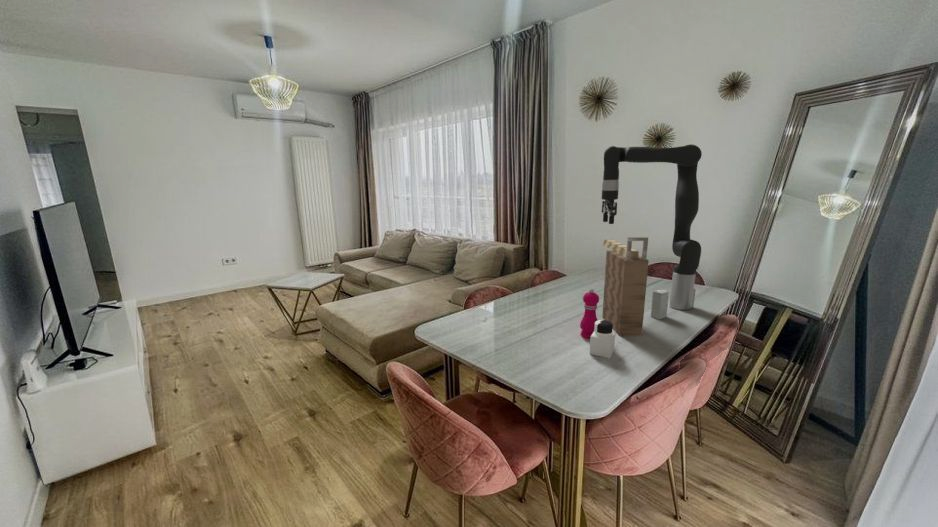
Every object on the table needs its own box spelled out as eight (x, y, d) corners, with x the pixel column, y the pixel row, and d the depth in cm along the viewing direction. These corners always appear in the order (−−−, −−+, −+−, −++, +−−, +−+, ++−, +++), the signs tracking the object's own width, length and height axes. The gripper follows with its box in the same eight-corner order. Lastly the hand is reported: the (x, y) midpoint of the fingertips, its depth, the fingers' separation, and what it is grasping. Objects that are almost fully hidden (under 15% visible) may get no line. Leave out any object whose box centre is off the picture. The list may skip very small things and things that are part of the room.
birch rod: (603, 245, 169) (603, 238, 168) (610, 245, 169) (610, 238, 168) (629, 259, 140) (630, 251, 139) (638, 258, 140) (638, 251, 139)
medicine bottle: (614, 351, 132) (616, 320, 129) (610, 359, 126) (612, 327, 123) (594, 346, 136) (596, 316, 133) (589, 354, 130) (591, 323, 127)
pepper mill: (589, 341, 140) (591, 292, 135) (575, 334, 146) (577, 287, 142) (602, 337, 143) (605, 289, 139) (588, 331, 149) (591, 285, 145)
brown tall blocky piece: (602, 317, 164) (607, 230, 155) (622, 316, 164) (629, 230, 155) (619, 335, 144) (626, 238, 135) (641, 335, 144) (650, 237, 135)
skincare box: (659, 319, 159) (662, 293, 157) (649, 316, 163) (652, 291, 160) (667, 316, 163) (669, 291, 160) (657, 313, 166) (659, 288, 164)
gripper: (623, 189, 167) (621, 224, 171) (612, 188, 181) (610, 221, 185) (607, 190, 168) (605, 224, 171) (597, 189, 182) (596, 221, 185)
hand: (608, 222), depth 178 cm, fingers open, 8 cm apart
